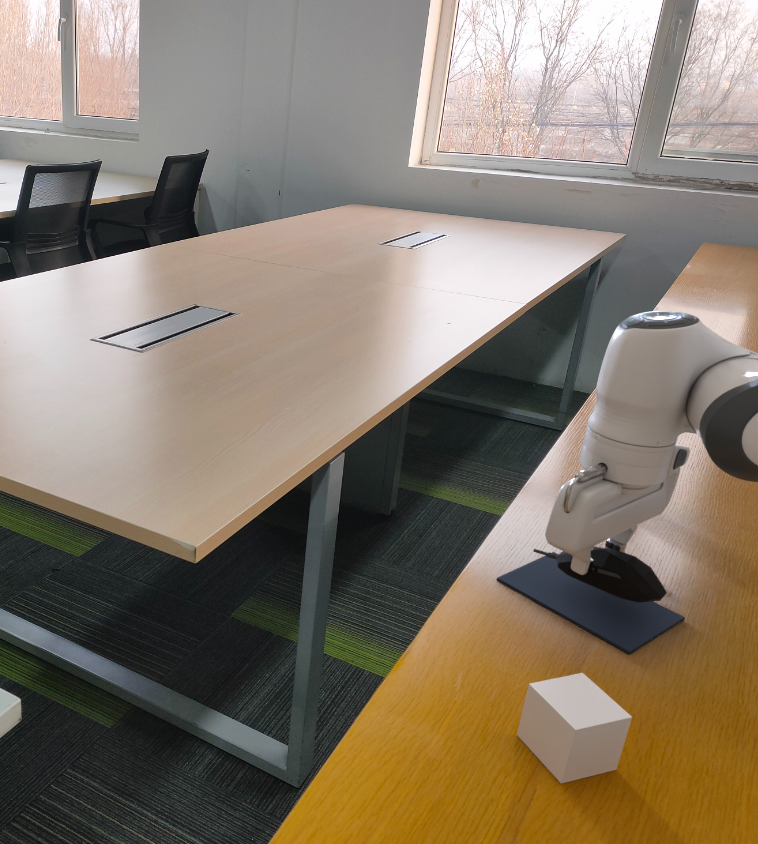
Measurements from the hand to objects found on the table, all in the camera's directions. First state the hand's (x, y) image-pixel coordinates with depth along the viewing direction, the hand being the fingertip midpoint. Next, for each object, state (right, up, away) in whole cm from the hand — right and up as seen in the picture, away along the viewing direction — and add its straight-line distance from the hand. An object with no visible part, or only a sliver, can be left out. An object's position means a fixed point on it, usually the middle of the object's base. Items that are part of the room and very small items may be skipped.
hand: (597, 562), depth 94 cm
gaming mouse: (0, -2, +1) cm, 2 cm away
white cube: (-14, -14, -21) cm, 29 cm away
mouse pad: (0, -5, +2) cm, 5 cm away
